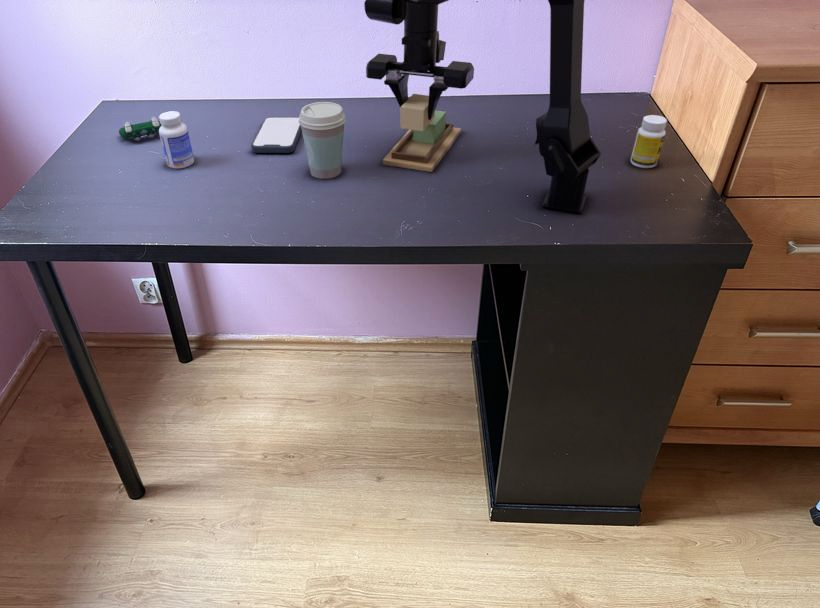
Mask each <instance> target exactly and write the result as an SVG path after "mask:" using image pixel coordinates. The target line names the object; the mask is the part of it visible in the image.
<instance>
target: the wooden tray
mask: <svg viewBox="0 0 820 608" xmlns="http://www.w3.org/2000/svg"><path fill="white" fill-rule="evenodd" d="M461 133H462V128H461V127H454V123H449V122H446V124H445V132H444V133H443V134H442V135H441V137H440V138H439V139H438V140H437V142H436V143H435V144H428V143H421V142H414V141H413V130H410V129H407V131H406V132H405V134H404V135H403V136H402V137H401V138H400V140H398V142H397V143H396V144H395V145H394V146H393V148H392V149H391V150H389V152H388V153H387V154H386V155H385V156H384V158H383V159H382V165H383V166H391V167H396V168H401V169H402V168H403V169H410V170H415V171H422V172H429V173H433V172H434V170H435V169H436V167H437V166H438V164H440V162H441V161H442V159H443V158H444V157H445V155H446V154H447V152H448V151H449V150H450V148H451V147H452V146H453V144H454V143H455V142H456V140H457V139H458V137H459V136H460V135H461Z"/></svg>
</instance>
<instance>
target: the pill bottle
mask: <svg viewBox="0 0 820 608" xmlns="http://www.w3.org/2000/svg"><path fill="white" fill-rule="evenodd" d="M158 119H159V120H158V121H160V123H161V125H162V126H161V127H160V128H159V132H158V134H159V138H160V142H161V146H162V150H163V155H164V158H165V162H166V165H167V166H168V167H170V168H171V169H176V170H179V169H185V168H188V167H191V166H192V165H193V164H194V162H195V157H194V153H193V147H192V143H191V140H190V139H191V138H190V134H189V130H188V126H187V124H185V123H184V122H182V121H183V120H182V115H181V113H180V112H179V111H177V110H170V111H165V112H162V113H161V114H159V115H158Z"/></svg>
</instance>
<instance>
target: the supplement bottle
mask: <svg viewBox="0 0 820 608" xmlns="http://www.w3.org/2000/svg"><path fill="white" fill-rule="evenodd" d="M667 122H668V119H667V118H666V117H664V116H662V115H655V114H649V115H648V114H647V115H645V116H643V118H642V122H641V126H640V127H639V128H638V129H637V133H636V136H635V141H634V145H633V147H632V153H631V157H630V159H629V160H630V163H631V165H632V166H635V167H637V168H640V169H652V168H654V167H656V166H657V164H658V162H659V159H660V156H661V152H662V149H663V144H664V141H665V138H666V130H665V129H666V128H667V124H668V123H667Z"/></svg>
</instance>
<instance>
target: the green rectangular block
mask: <svg viewBox="0 0 820 608" xmlns="http://www.w3.org/2000/svg"><path fill="white" fill-rule="evenodd" d="M446 120H447V111H443V110H436V109H435V118H434V119H433V120H432V121H431V123H430V124H429V125H428V126H427V127H426V128H425V130H424V131H417V130H413V141H414V142H421V143H428V144H435V143H436V142H437V140H438V139H439V138H440V137H441V135H442V134H443V133H444V132H445V124H446V123H447V121H446Z"/></svg>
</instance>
